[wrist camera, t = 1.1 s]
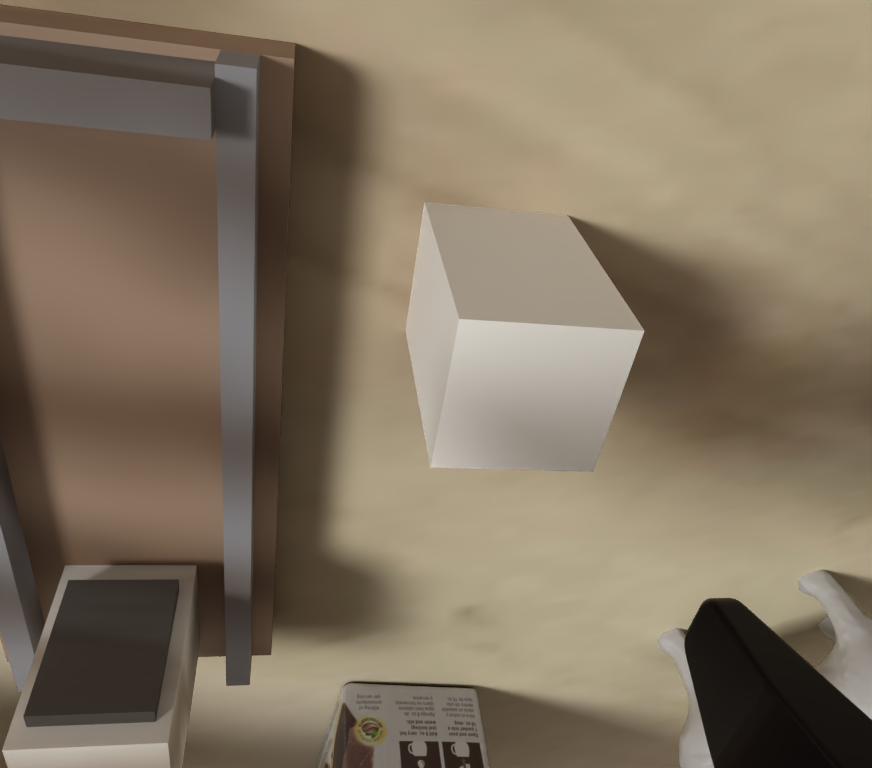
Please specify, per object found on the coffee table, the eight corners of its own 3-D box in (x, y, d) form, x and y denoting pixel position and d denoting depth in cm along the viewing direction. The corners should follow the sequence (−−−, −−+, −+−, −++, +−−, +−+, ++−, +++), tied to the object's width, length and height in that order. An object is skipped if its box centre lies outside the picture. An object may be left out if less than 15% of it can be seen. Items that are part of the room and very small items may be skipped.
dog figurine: (575, 667, 34) (661, 947, 25) (850, 549, 31) (1049, 818, 23) (617, 716, 37) (706, 980, 28) (871, 612, 34) (1054, 869, 26)
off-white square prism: (531, 351, 23) (587, 486, 18) (403, 344, 22) (427, 483, 18) (567, 215, 21) (644, 330, 16) (424, 201, 20) (459, 319, 15)
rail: (272, 621, 29) (261, 825, 23) (21, 624, 27) (-62, 847, 21) (295, 43, 17) (285, 155, 11) (-152, -16, 15) (-453, 80, 9)
